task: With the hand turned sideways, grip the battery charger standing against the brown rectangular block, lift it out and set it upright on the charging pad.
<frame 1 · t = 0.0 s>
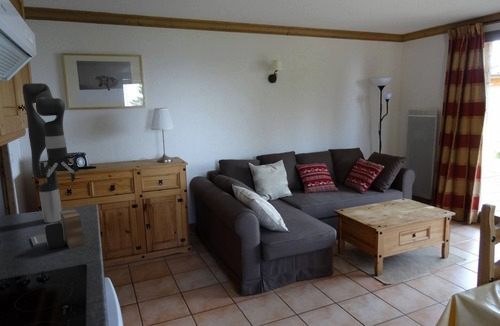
hand: (61, 183, 150), 29 cm above the kitchen counter, tool pointing down, fingers open, 8 cm apart
battery charger: (56, 247, 156), on the kitchen counter
charging pad: (46, 239, 164), on the kitchen counter
brown rectangular block: (74, 242, 160), on the kitchen counter
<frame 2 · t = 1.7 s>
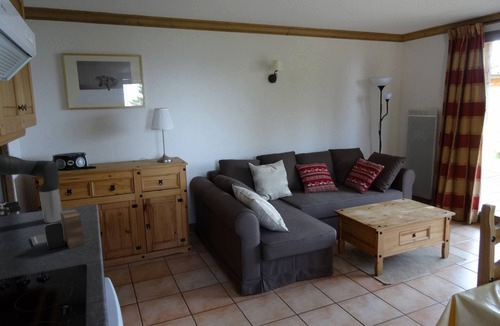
hand: (19, 205, 145), 22 cm above the kitchen counter, tool horizontal, fingers open, 8 cm apart
nothing on the kitchen counter moved.
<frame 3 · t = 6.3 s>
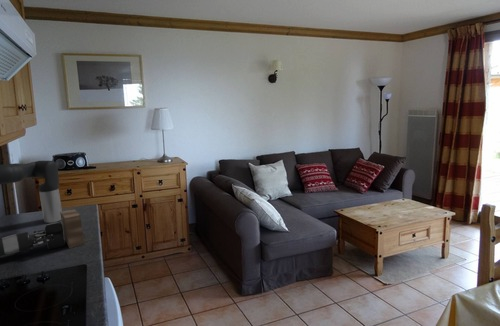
hand: (61, 232, 156), 6 cm above the kitchen counter, tool horizontal, fingers closed on battery charger, 4 cm apart
battery charger: (56, 247, 156), on the kitchen counter, touching gripper
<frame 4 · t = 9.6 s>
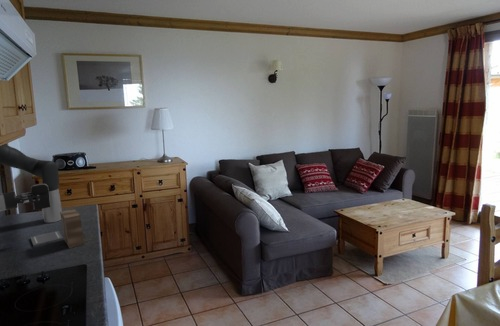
hand: (47, 194, 162), 22 cm above the kitchen counter, tool horizontal, fingers closed on battery charger, 4 cm apart
battery charger: (42, 208, 161), point 15 cm above the kitchen counter, touching gripper
when the fingers open (8 cm above the kitchen counter, at t = 12.6 s): battery charger drops 1 cm, resting on charging pad.
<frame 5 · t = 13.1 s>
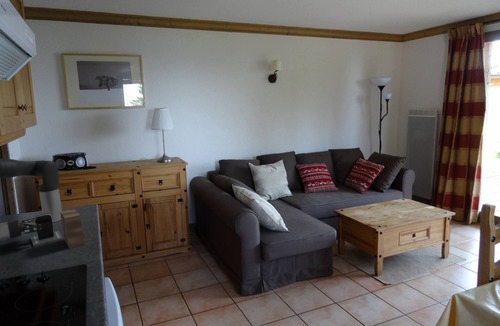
hand: (48, 221, 164), 8 cm above the kitchen counter, tool horizontal, fingers open, 8 cm apart
battery charger: (46, 237, 164), point 1 cm above the kitchen counter, touching charging pad
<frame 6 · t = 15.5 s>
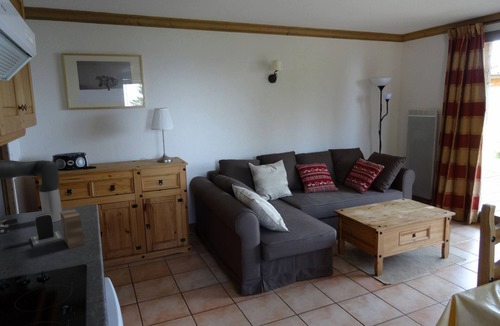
hand: (18, 222, 157), 10 cm above the kitchen counter, tool horizontal, fingers open, 8 cm apart
nothing on the kitchen counter moved.
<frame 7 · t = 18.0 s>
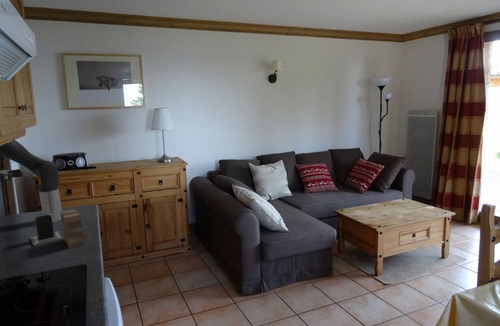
hand: (21, 172, 161), 32 cm above the kitchen counter, tool horizontal, fingers open, 8 cm apart
nothing on the kitchen counter moved.
at the end: battery charger inside the target area on the charging pad (0.3 cm from its centre), point 0.6 cm above the charging pad's base; battery charger tilted 0°; the gripper is holding nothing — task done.
